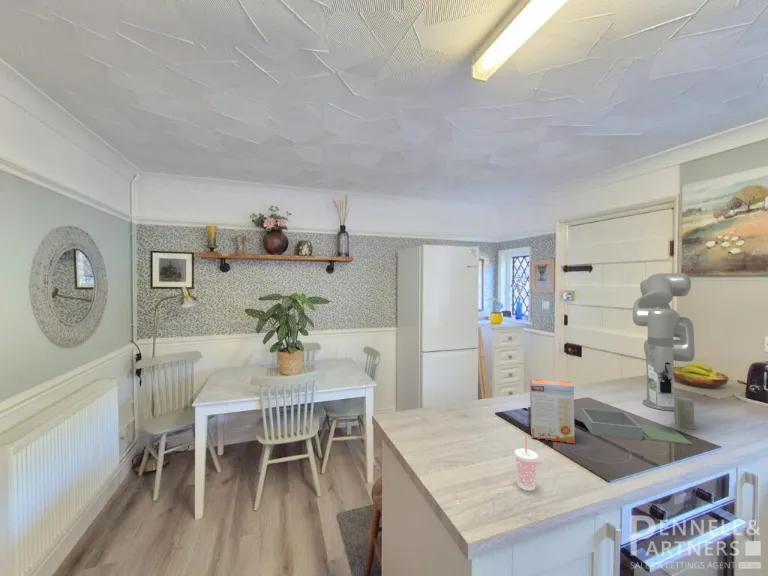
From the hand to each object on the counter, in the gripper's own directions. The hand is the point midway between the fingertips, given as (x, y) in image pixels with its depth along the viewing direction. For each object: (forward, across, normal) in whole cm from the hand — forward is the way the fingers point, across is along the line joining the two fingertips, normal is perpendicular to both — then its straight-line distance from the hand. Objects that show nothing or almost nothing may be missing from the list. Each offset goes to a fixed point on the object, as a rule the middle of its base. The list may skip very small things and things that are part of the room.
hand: (660, 389), depth 122 cm
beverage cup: (+18, +50, -52) cm, 74 cm away
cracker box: (+17, +16, -40) cm, 46 cm away
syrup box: (+6, 0, 0) cm, 6 cm away
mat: (+17, 0, 0) cm, 17 cm away
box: (+17, -11, +12) cm, 24 cm away
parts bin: (+17, 0, -17) cm, 24 cm away
